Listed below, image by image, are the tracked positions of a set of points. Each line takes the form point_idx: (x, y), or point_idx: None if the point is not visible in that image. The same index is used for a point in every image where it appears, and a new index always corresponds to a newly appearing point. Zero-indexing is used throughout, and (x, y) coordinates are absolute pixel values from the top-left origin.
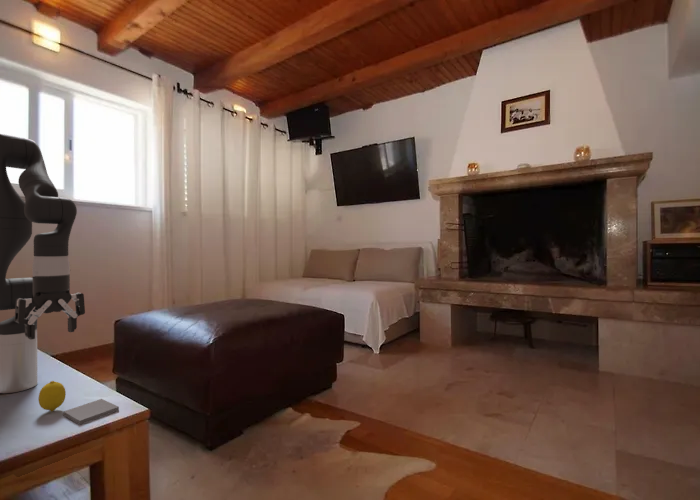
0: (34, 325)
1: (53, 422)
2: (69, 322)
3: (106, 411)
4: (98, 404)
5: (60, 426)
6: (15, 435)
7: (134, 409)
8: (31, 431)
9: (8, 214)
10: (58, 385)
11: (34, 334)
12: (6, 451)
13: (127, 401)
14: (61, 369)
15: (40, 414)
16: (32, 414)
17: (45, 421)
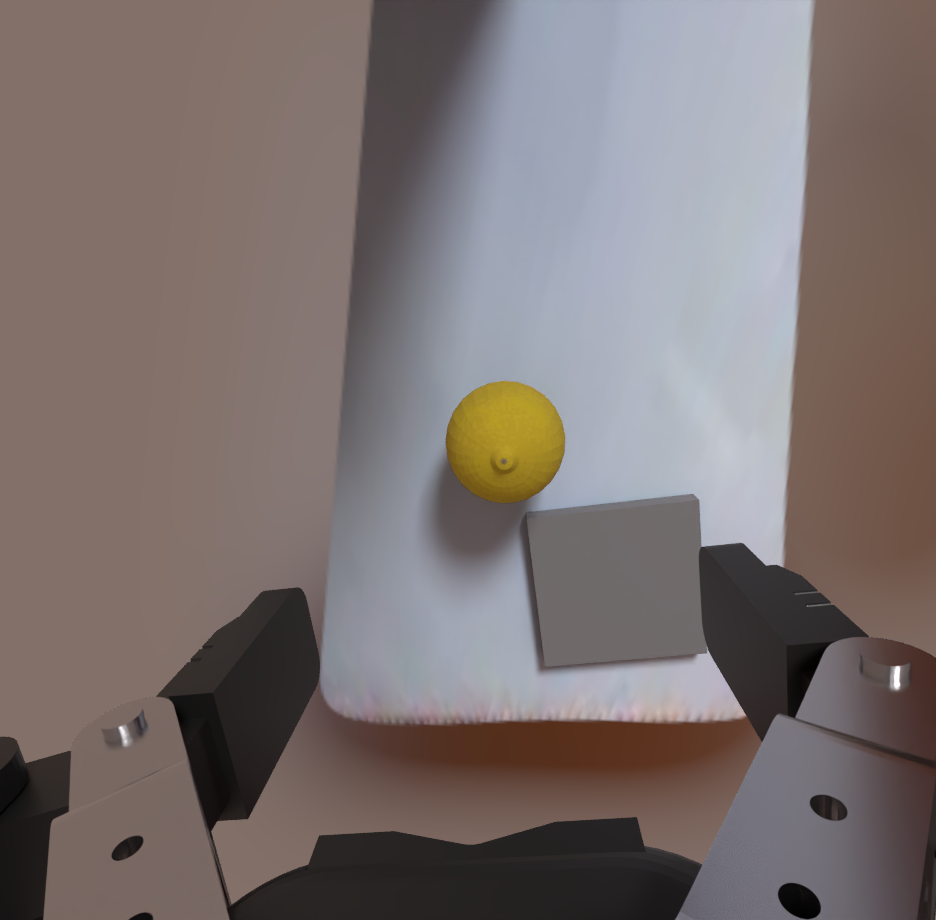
0: (249, 805)
1: (480, 554)
2: (755, 664)
3: (651, 657)
4: (659, 560)
5: (489, 613)
6: (357, 566)
7: None
8: (404, 575)
9: None
10: (527, 489)
11: (299, 712)
12: (322, 671)
13: None
14: None
15: None
16: (436, 393)
17: (460, 519)
